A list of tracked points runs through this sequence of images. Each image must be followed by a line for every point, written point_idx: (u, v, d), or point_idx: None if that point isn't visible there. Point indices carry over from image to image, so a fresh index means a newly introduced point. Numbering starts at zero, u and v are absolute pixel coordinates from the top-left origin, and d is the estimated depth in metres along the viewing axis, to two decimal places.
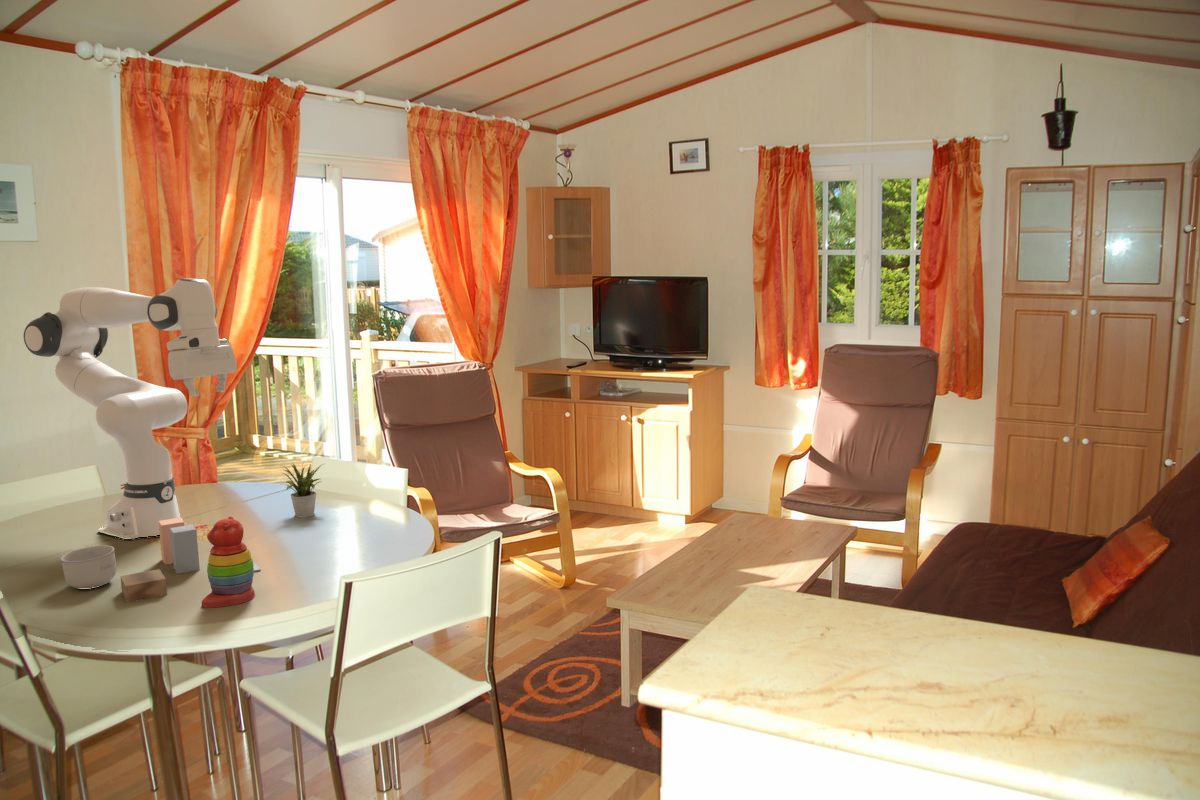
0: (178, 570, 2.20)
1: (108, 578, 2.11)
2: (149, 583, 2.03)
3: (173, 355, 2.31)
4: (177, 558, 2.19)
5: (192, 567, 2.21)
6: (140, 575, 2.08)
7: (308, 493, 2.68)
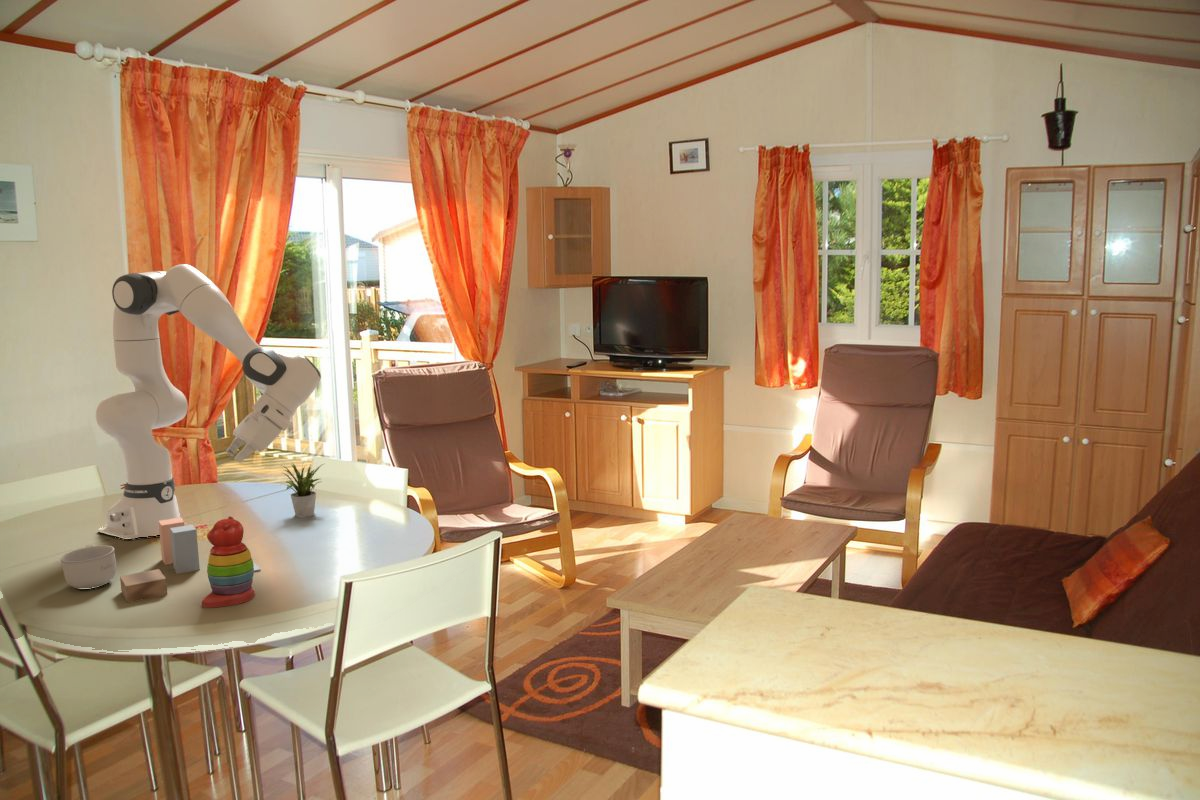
0: (178, 570, 2.20)
1: (108, 578, 2.11)
2: (149, 583, 2.03)
3: (270, 426, 2.21)
4: (177, 558, 2.19)
5: (192, 567, 2.21)
6: (140, 575, 2.08)
7: (308, 493, 2.68)
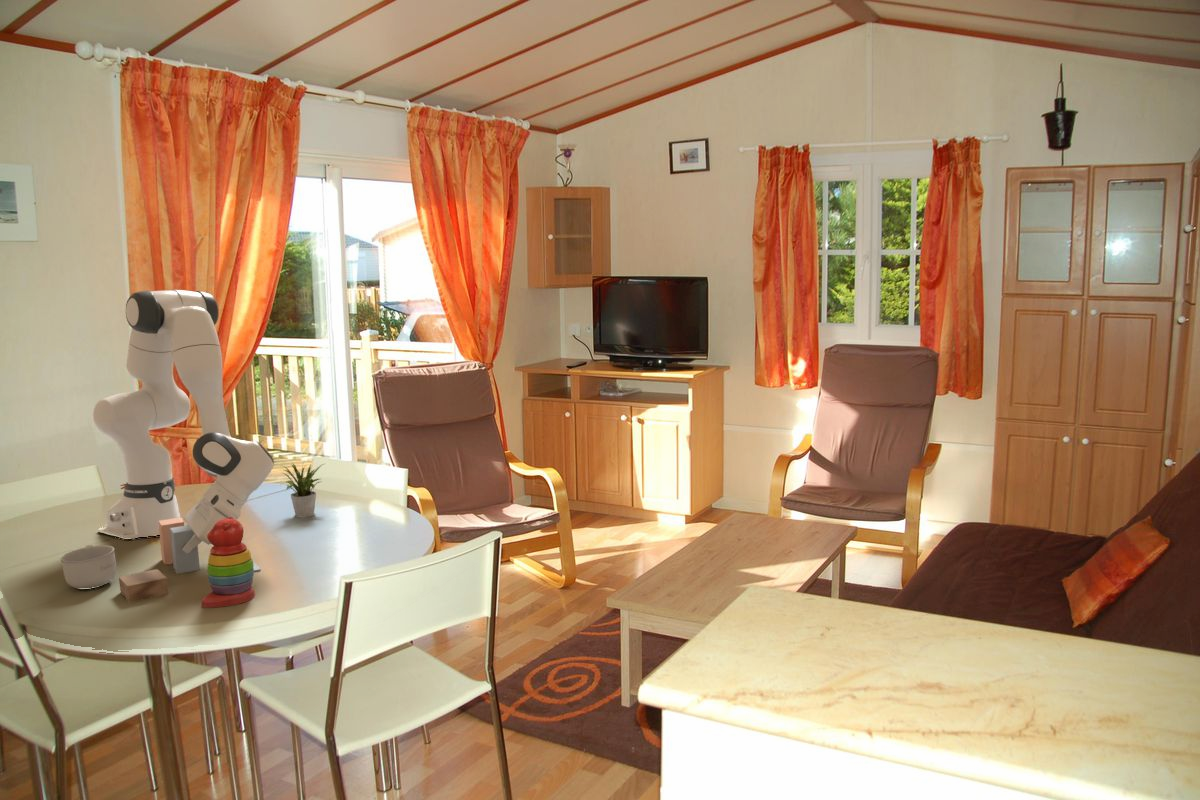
0: (178, 570, 2.20)
1: (108, 578, 2.11)
2: (150, 582, 2.04)
3: (219, 519, 2.17)
4: (177, 558, 2.19)
5: (192, 567, 2.21)
6: (140, 575, 2.08)
7: (308, 493, 2.68)
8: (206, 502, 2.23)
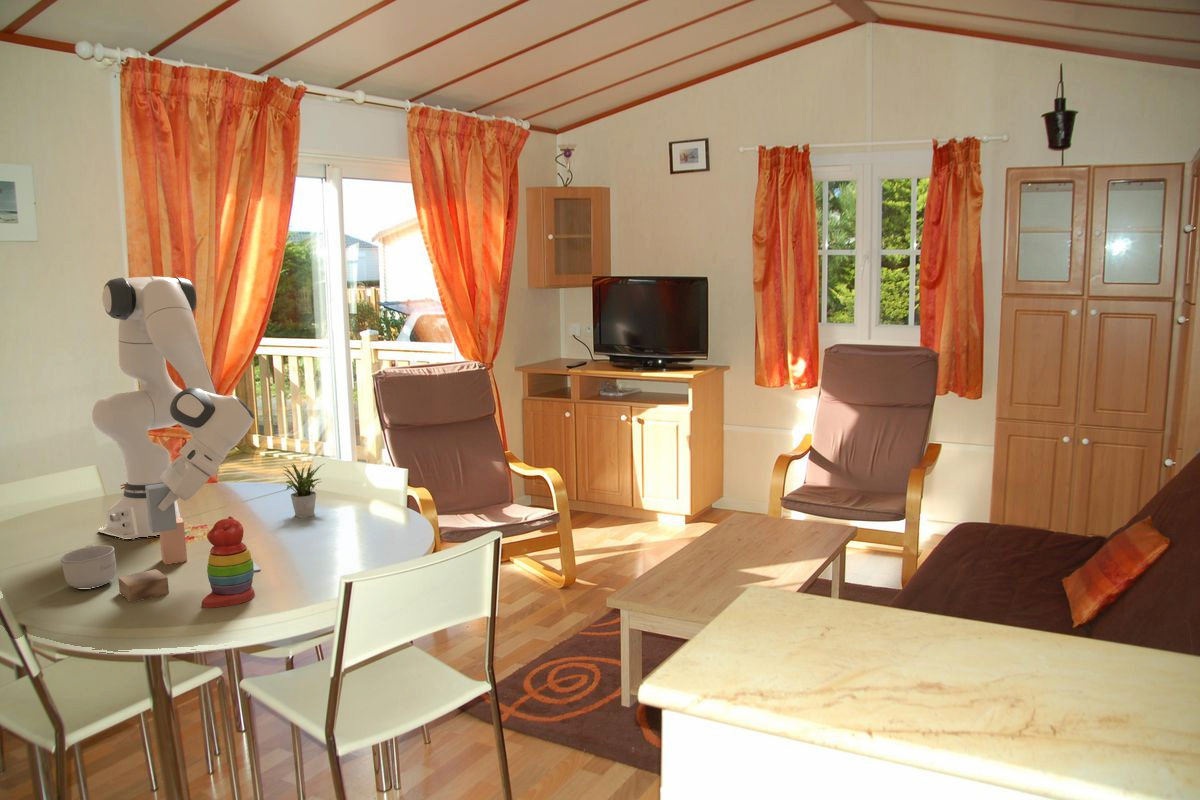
0: (154, 529, 2.09)
1: (108, 578, 2.11)
2: (151, 582, 2.04)
3: (196, 474, 2.06)
4: (153, 516, 2.09)
5: (168, 526, 2.11)
6: (139, 575, 2.07)
7: (308, 493, 2.68)
8: (183, 458, 2.12)
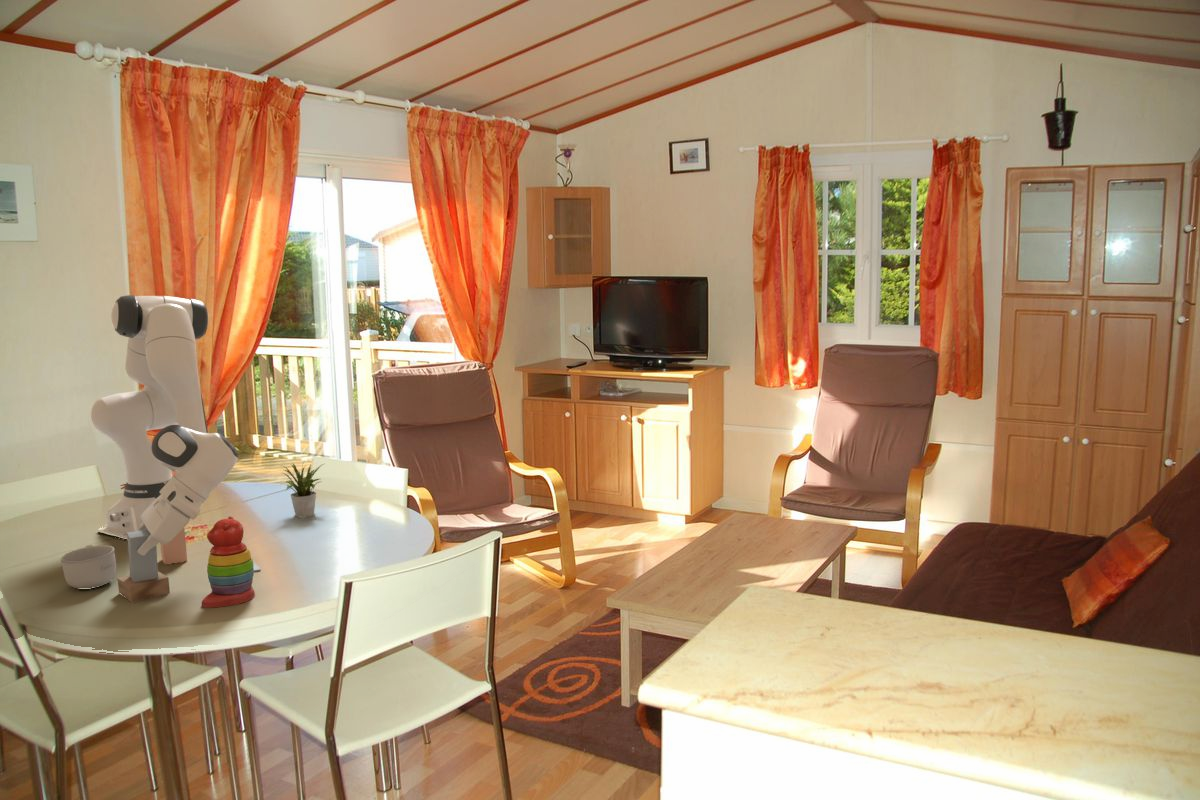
0: (134, 578, 2.03)
1: (108, 578, 2.11)
2: (152, 582, 2.04)
3: (176, 516, 2.00)
4: (134, 565, 2.03)
5: (150, 575, 2.05)
6: None
7: (308, 493, 2.68)
8: (163, 499, 2.06)
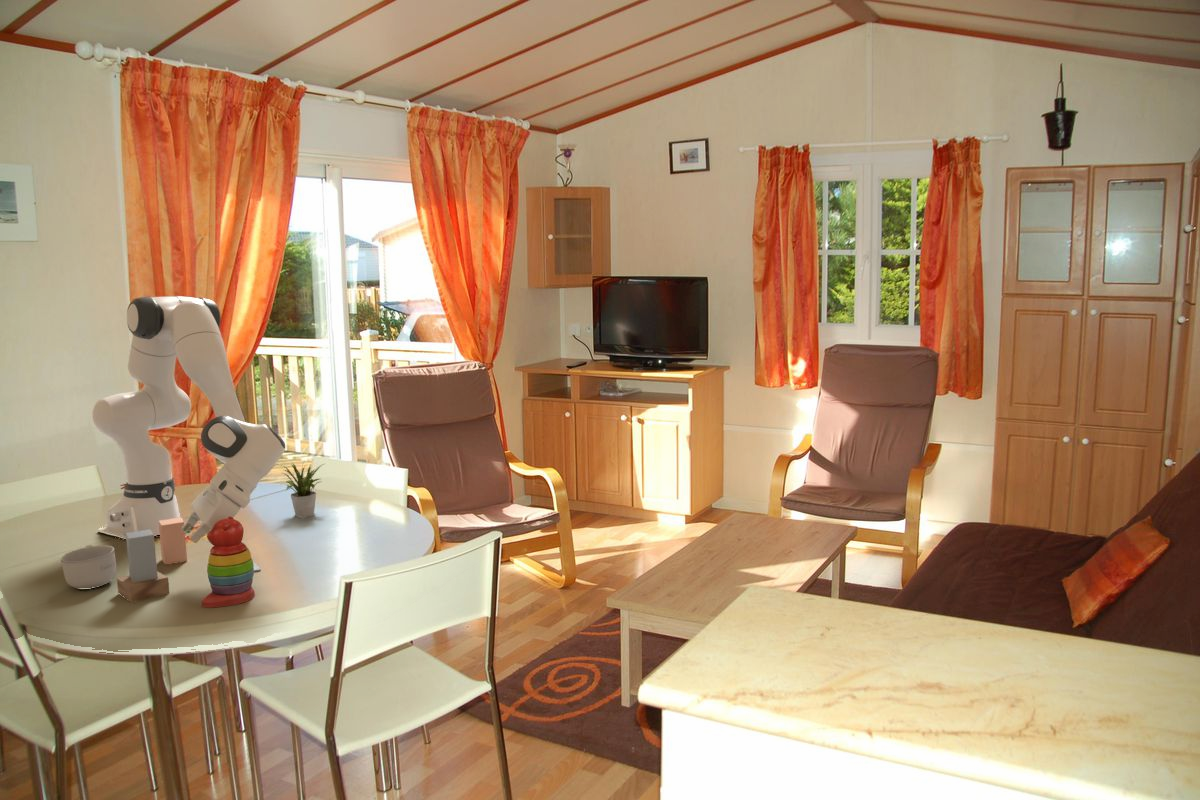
0: (134, 579, 2.03)
1: (108, 578, 2.11)
2: (152, 582, 2.04)
3: (227, 505, 2.05)
4: (133, 566, 2.02)
5: (149, 575, 2.04)
6: None
7: (308, 493, 2.68)
8: (214, 488, 2.11)
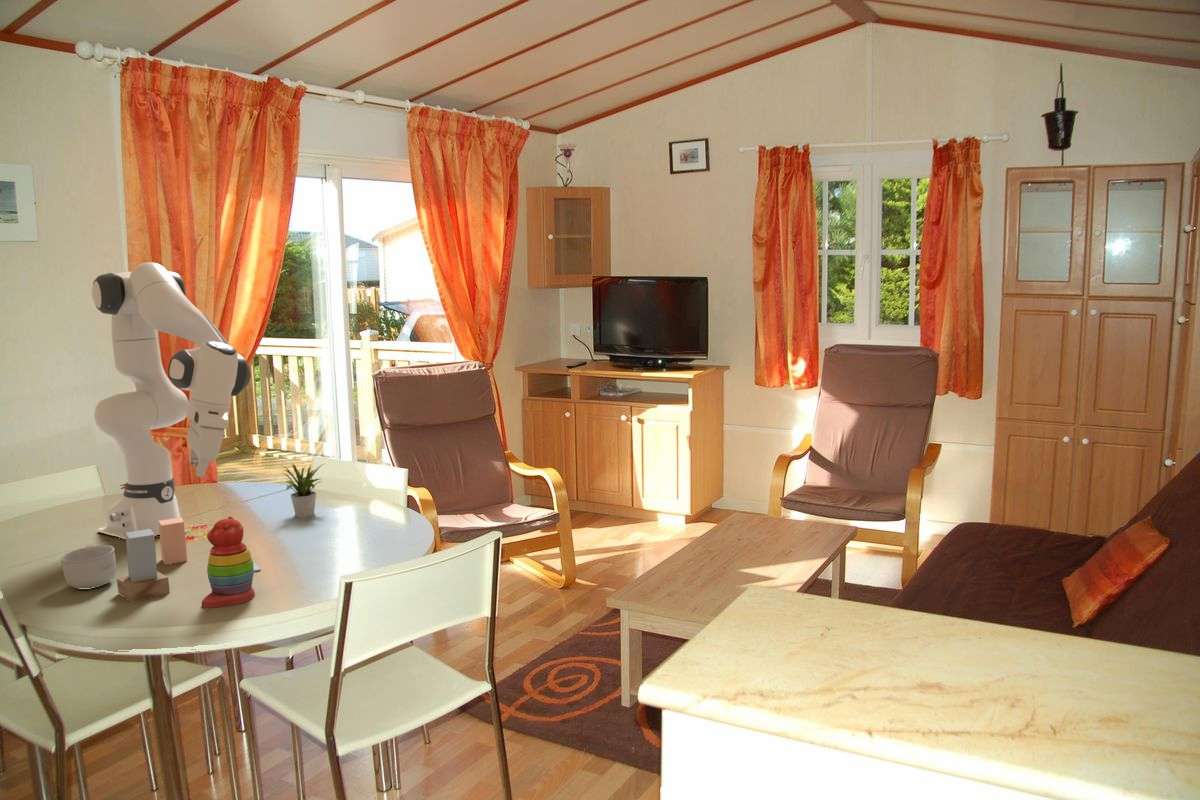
0: (134, 578, 2.03)
1: (108, 578, 2.11)
2: (152, 582, 2.04)
3: (209, 434, 2.05)
4: (133, 566, 2.03)
5: (149, 575, 2.05)
6: None
7: (308, 493, 2.68)
8: (193, 421, 2.11)
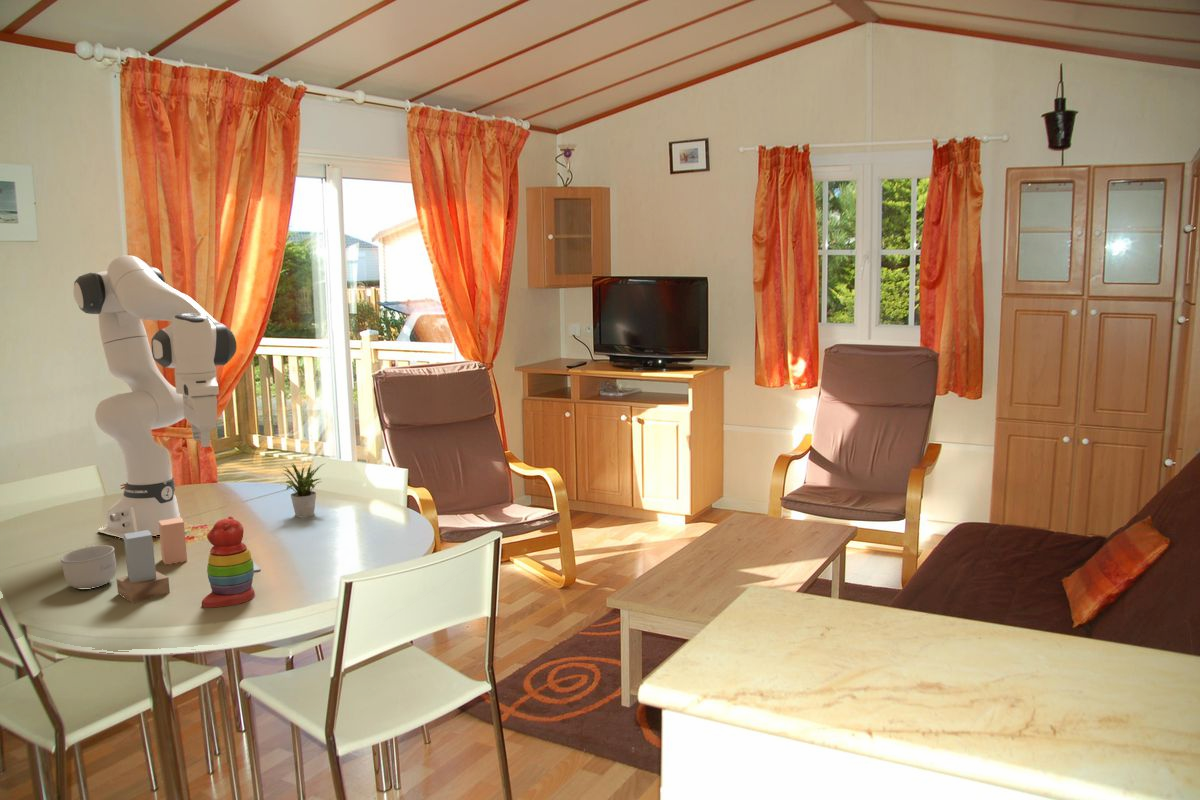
0: (132, 579, 2.03)
1: (108, 578, 2.11)
2: (153, 582, 2.04)
3: (203, 402, 2.06)
4: (131, 566, 2.02)
5: (147, 575, 2.04)
6: None
7: (308, 493, 2.68)
8: (184, 395, 2.11)
